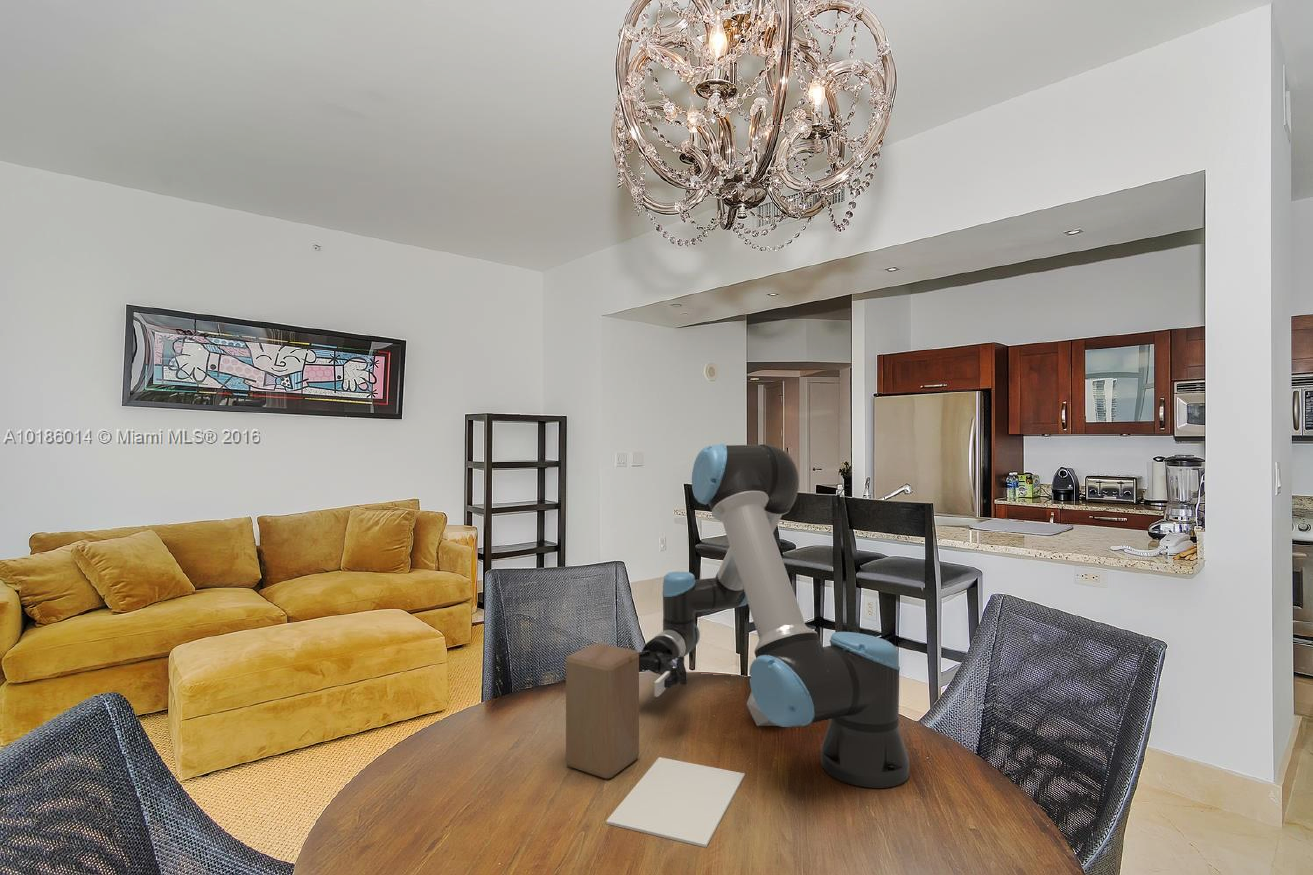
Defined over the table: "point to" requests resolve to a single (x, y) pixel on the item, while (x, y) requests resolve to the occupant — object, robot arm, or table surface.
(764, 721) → the die
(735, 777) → the white mat
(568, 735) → the wooden block
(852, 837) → the table surface
